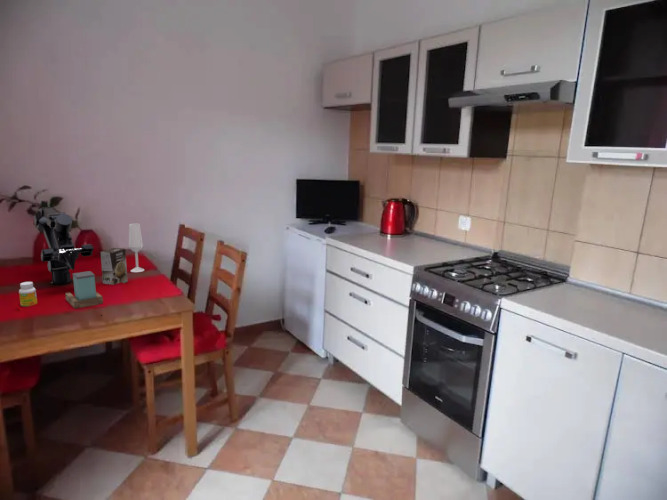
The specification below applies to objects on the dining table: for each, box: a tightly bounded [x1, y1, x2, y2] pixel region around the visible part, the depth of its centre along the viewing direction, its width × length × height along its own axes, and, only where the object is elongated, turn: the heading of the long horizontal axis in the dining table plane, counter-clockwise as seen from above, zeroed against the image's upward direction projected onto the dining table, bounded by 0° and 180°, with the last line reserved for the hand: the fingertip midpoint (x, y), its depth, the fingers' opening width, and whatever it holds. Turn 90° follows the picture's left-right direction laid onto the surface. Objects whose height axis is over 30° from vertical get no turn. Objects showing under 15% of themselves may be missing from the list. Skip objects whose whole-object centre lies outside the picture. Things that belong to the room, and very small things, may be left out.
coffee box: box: [100, 247, 129, 285], centre depth 200 cm, size 9×6×16 cm
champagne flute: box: [128, 222, 145, 273], centre depth 221 cm, size 7×7×24 cm
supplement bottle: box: [18, 281, 38, 307], centre depth 170 cm, size 5×5×10 cm
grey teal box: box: [71, 270, 97, 301], centre depth 173 cm, size 6×6×12 cm
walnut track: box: [64, 291, 104, 310], centre depth 175 cm, size 13×11×4 cm
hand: (73, 269), depth 182 cm, fingers closed
